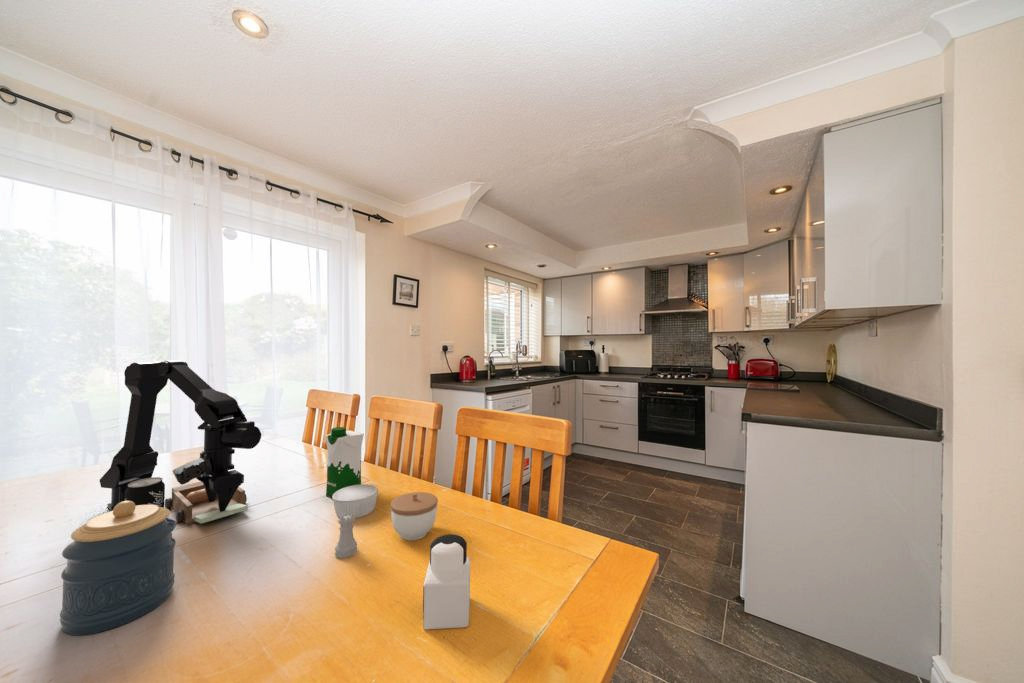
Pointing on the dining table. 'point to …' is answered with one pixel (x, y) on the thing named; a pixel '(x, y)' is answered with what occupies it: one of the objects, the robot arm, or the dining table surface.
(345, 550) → the rook chess piece
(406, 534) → the lidded jar
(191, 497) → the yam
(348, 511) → the ramekin
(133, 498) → the beverage can
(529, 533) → the dining table surface
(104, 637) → the dining table surface
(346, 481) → the milk carton
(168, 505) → the wooden drawer box
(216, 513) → the tailgate
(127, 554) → the canister
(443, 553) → the white block figurine
